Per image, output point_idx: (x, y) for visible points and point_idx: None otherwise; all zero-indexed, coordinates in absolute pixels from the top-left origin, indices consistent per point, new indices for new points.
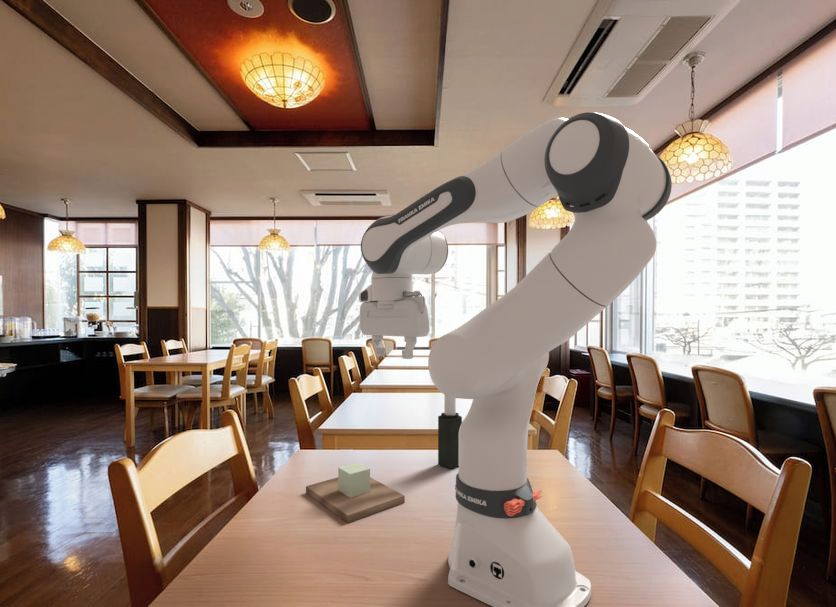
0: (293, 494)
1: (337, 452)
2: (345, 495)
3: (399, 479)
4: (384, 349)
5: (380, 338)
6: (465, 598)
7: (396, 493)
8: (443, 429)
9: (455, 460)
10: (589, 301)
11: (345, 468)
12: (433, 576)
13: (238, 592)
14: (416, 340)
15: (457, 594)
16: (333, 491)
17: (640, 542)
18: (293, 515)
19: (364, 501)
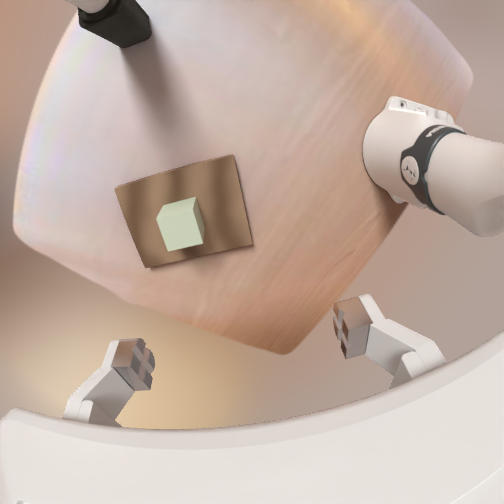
0: (146, 276)
1: (23, 194)
2: None
3: (148, 128)
4: (136, 365)
5: (103, 418)
6: None
7: (220, 163)
8: (112, 26)
9: (145, 22)
10: None
11: (176, 243)
12: (380, 205)
13: (307, 327)
14: (436, 347)
15: None
16: None
17: (429, 22)
18: (203, 285)
19: (224, 214)
